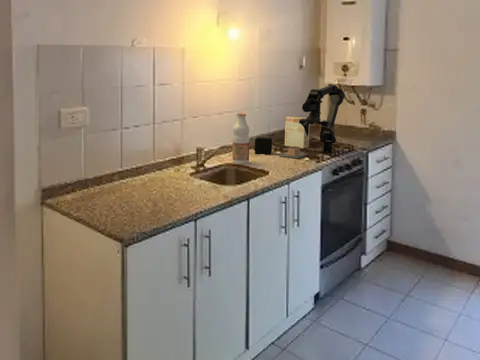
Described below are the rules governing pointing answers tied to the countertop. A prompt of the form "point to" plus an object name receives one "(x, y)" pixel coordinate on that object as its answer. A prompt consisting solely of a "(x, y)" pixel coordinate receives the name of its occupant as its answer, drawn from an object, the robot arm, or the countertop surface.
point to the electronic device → (263, 145)
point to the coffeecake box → (295, 133)
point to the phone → (293, 150)
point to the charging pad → (293, 156)
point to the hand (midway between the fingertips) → (314, 136)
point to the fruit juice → (241, 140)
